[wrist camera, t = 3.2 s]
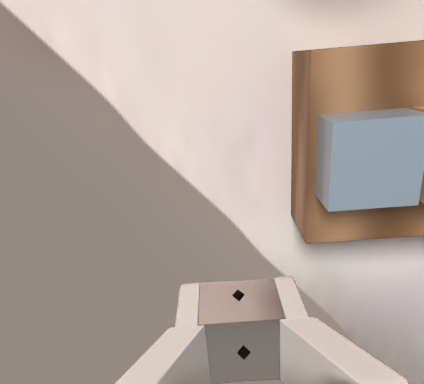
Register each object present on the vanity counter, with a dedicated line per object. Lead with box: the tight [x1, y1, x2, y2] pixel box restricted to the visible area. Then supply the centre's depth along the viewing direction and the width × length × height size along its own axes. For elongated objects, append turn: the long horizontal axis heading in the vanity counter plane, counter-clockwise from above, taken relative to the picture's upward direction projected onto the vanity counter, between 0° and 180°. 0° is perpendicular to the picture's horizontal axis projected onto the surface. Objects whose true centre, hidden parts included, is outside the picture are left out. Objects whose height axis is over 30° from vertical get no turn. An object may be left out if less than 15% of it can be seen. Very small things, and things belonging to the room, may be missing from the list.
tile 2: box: [315, 108, 424, 212], centre depth 19 cm, size 5×5×2 cm
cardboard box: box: [291, 40, 424, 244], centre depth 22 cm, size 11×12×4 cm
